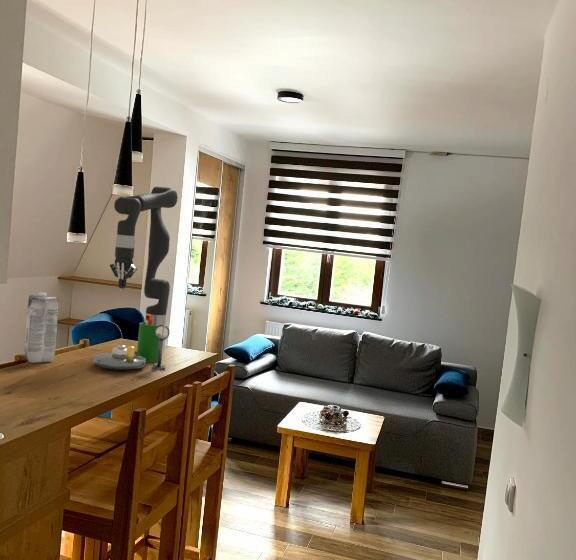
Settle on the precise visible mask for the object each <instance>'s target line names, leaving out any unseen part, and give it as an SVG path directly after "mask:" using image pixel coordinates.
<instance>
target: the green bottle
mask: <svg viewBox="0 0 576 560" xmlns="http://www.w3.org/2000/svg"><path fill="white" fill-rule="evenodd" d="M145 317H146V319H145V318H144V319H145V320H148V325H146V322H145V321H142V322H139V328H138V337H137V348H136V349H137V350H136V354H137V355H141V356H143V357H145V358H146V363H157V360H158V349H159V339H157V338H156V337H155V334H154V331H155V328H156V327H157V326H154V325H153V315H150V314H147V315H146V314H145Z"/></svg>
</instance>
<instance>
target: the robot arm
mask: <svg viewBox="0 0 576 560" xmlns="http://www.w3.org/2000/svg"><path fill="white" fill-rule="evenodd" d="M178 199H179V197H178V192H177V191H176V189H174V188H172V187H167V186H154V187H152V189H151V192H150V193H142V194H136V195H124V196H119V197H117V198H116V200H115V201H114V204H113V207H114V210H115V212H116V213H118V214H120V215H127V218H126V219H124V220H123V219H122V220H119V221H118V222H117V228H116V238H115V248H114V257H115V259H114V262H113V263H110V264H109V267H110V269H111V271H112V273H113V275H114V277H116V278H117V279H118V285H117V286H118V288H119V289H126V287H127V280H128V279H131V278H132V277H133V275H134V274H135V273H136V271H138V267H137V266H135V265H134V262H133V259H134V258H135V257H134V256H135V255H134V254H135V243H136V241H135V235H136V233H135V232H136V225H137V223H138V219H139V215H140V214H141V212H144V211H149V210H150V222H149V223H150V226H149V237H148V238H149V239H148V249H147V250H148V251H147V252H148V253H147V267H146V273H145V279H144V286H143V292H144V296H145V298H147V299H152V300H158V301H157V303H156V304H153V305H149V306H147V307H146V309H145V318H144V319H146V315H147V314H150V315H153V325H154V326H159V325H165V326H166V321H167V319H166V318H167V310H168V304H169V296H170V289H171V287H170V286H171V285H170V281H168V280H167V279H159V278H156V274H157V270H158V268H159V266H160V265H161V264H162V262H163V260H164V259H165V258H166V257H167V255H168V254H169V250H170V239H171V237H170V234H169V231H168V230H167V227H166V225H165V224H164V221H163V217H162V208H164V209H165V208H166V209H170V208H171V209H172V208H174V207H175V206H176V205H177V202H178ZM144 322H146V325H148V320H145V321H144ZM165 345H166V339H165V340H163V349H162V352H163V351H165Z"/></svg>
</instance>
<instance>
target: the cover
mask: <svg viewBox="0 0 576 560" xmlns="http://www.w3.org/2000/svg"><path fill="white" fill-rule="evenodd" d="M111 352H112V357H113V358H116V359H126V354H127V345H125V344H118V345H117V346H115V347H114V346H113V347H112V351H111Z"/></svg>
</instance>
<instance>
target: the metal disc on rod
mask: <svg viewBox="0 0 576 560" xmlns="http://www.w3.org/2000/svg"><path fill="white" fill-rule="evenodd" d="M170 332H171V331H170V328H169V327H168V326H167V325H166V324H165V325H159V326H157V327H156V328H155V331H154V334H155V337H156V338H157V339H159V349H158V360H157V362H156V364H152V369H151V370H154V371H166V365H165V364H162V359H163V358H162V357H163V351H162V349H163V340H165V341H166V340H167V339H168V338H169V336H170Z"/></svg>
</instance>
